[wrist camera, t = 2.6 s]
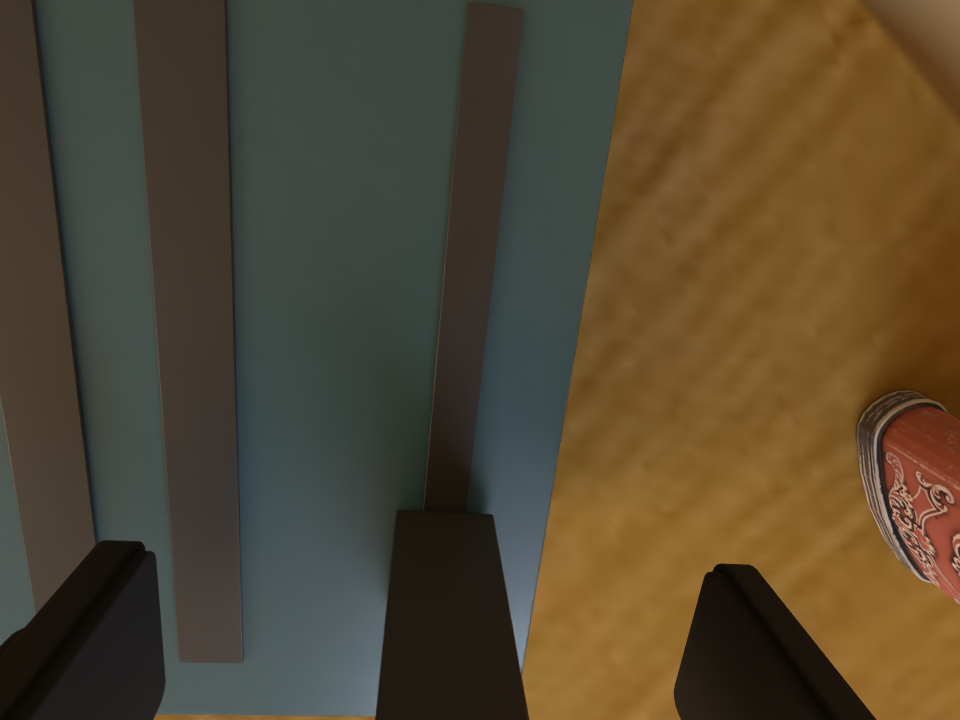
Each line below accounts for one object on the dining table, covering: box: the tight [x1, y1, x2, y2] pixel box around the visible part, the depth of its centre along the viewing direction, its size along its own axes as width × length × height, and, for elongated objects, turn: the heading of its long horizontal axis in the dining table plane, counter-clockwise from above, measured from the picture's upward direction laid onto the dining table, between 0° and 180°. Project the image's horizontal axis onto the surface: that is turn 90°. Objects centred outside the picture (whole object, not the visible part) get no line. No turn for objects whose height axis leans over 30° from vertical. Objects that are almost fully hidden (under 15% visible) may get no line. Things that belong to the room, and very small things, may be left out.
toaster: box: [0, 0, 634, 716], centre depth 14 cm, size 11×16×8 cm
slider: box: [375, 510, 529, 720], centre depth 9 cm, size 2×3×5 cm
